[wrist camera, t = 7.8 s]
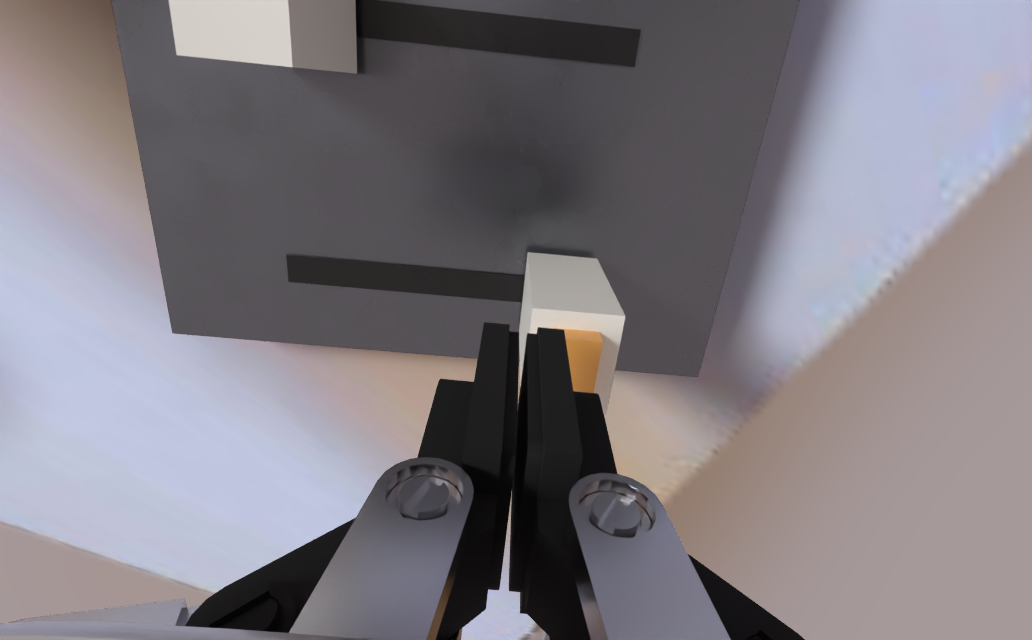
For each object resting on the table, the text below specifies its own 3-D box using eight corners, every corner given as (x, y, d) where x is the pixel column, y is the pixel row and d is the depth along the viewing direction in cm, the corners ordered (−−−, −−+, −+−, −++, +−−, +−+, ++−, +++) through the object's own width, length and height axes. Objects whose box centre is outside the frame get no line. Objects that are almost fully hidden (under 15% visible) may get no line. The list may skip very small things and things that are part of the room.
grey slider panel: (850, -375, 14) (933, -489, 12) (675, 342, 23) (698, 378, 20) (99, -486, 14) (-11, -638, 11) (214, 303, 22) (170, 334, 20)
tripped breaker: (597, 258, 18) (630, 326, 13) (584, 337, 19) (609, 427, 14) (527, 252, 18) (533, 317, 13) (519, 331, 19) (521, 420, 14)
